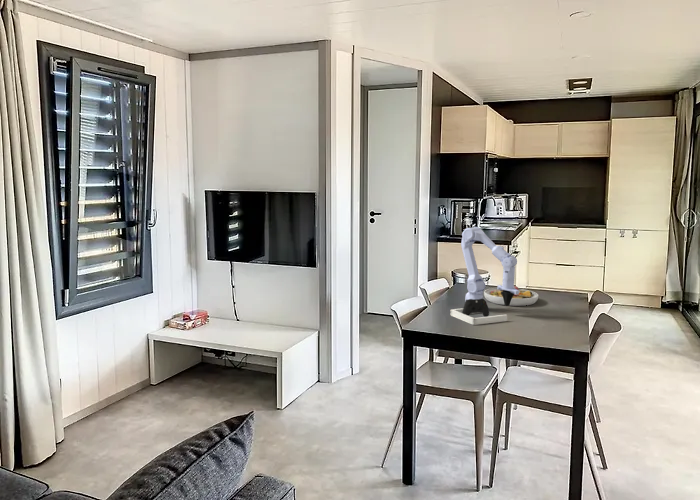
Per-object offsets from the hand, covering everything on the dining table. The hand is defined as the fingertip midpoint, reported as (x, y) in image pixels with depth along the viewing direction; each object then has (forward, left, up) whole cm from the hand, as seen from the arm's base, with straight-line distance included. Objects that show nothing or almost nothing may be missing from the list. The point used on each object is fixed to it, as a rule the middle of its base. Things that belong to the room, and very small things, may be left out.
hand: (507, 305), depth 286 cm
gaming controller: (0, -19, -5) cm, 20 cm away
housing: (0, -18, -5) cm, 19 cm away
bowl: (-25, +23, -6) cm, 35 cm away
